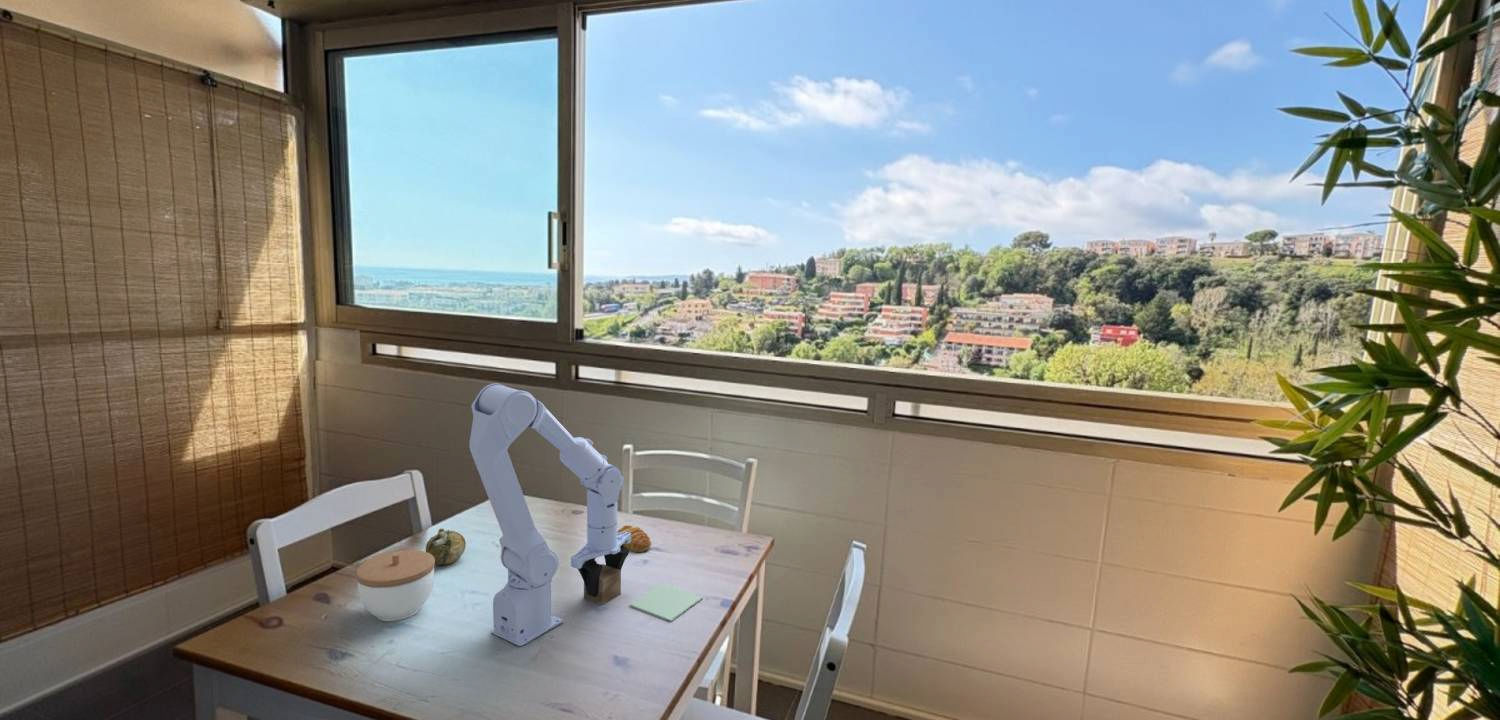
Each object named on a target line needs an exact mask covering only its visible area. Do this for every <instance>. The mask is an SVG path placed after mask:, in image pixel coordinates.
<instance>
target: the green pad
mask: <svg viewBox="0 0 1500 720" xmlns="http://www.w3.org/2000/svg"><path fill="white" fill-rule="evenodd" d="M701 599H702V600H703V599H704V598H703V596H701V595H698V594H695V593H692V592H689V591H687V590H684V589H682V588H681V589H680V588H678V587H674V586H671V585H669V584H666V583H661V584H659V585H658V586H656V587H654V588H653V589H651V590H649V591H648V592H646V593H645V594H643V595H641V596H640V597H638V598H637V599H635V600H634V601H632V602H631V603H629V607H631V608H634V609H636V610H639V611H642V612H644V613H647V614H649V615H651V616H654V617H658V618H659V619H663V620H665V621H667V620H669V621H668V622H670V621H672V622H673V621H674V620H675V618H676V617H677V618H678V617H680V616H681V615H682V614H681V613H683V612H684V611H685V612H687V611H688V610H690V607H691V606H692V607H693V605H694V604H695V603H696V604H698V603H699V602H701V601H702V600H701ZM698 601H699V602H698ZM697 602H698V603H697ZM696 604H695V605H696ZM695 605H694V606H695ZM692 607H691V608H692ZM687 609H688V610H687ZM686 610H687V611H686ZM685 612H684V613H685ZM684 613H683V614H684ZM680 614H681V615H680ZM679 615H680V616H679ZM677 618H676V619H677Z"/></svg>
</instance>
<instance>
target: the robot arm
mask: <svg viewBox="0 0 1500 720" xmlns="http://www.w3.org/2000/svg"><path fill="white" fill-rule="evenodd" d="M470 406H471V411H472V416H473V418H472V424H471V431H470V437H469V445H468V446H469V447H468V448H469V451H470V453H471V456H472V458H473V461H474V464H475V467H476V469H477V472H478V474H479V476H480V480H481V482H482V485H483V487H484V489H485V492H486V494H487V497H488V500H489V502H490V504H491V507H492V510H493V512H494V515H495V518H496V520H497V523H498V525H499V527H500V531H501V534H502V535H501V537H500V538H499V544H500V546H501V547H500V548H501V550H500V562H501V564H502V565H503V567H504V568H505V569H507V583H506V584H505V586H504V587H503V588H501V590H500V591H498V592H496V593H495V594H494V595H493V596H494V597H493V599H492V601H493V602H492V610H493V611H492V612H493V613H492V614H493V615H492V617H493V628H492V629H491V630H490V633H491V634H493V635H495V636H498V637H500V638H502V639H503V640H506V641H507V642H510V643H512V644H514V645H516V646H518V647H522V646H525V644H528V643H529V642H531V641H533V640H534V639H537V637H540V636H541V635H543V634H544V633H546V632H548V631H549V630H551V629H553V628H555V627H556V626H558V625H560V624H562V623H563V619H562V618H561V617H558V616H556V615H553V614H552V579H553V578H554V577H555V575H556V573H557V572H558V571H557V570H558V568H559V558H558V555H557V553H556V552H555V551H553V550H552V549H550V548H549V545H548V544H547V541H546V540H545V538H544V536H543V535H542V534H541V533H540V532H539V530H538V529H537V528H536V526H535V523H534V521H533V518H532V515H531V512H530V509H529V507H528V503H527V501H526V499H525V495H524V493H523V490H522V487H521V485H520V483H519V480H518V476H517V474H516V472H515V468H514V466H513V462H512V460H511V457H510V454H509V452H508V449H509V448H510V446H511V444H512V443H513V442H514V441H515V440H516V439H517V438H518V437H519V436H520V435H521V434H522V433H523V432H524V431H525V430H526V429H527V428H530V429H534V430H535V431H536V432H537V433H538V434H540V435H541V436H542V437H543V438H544V439H545V440H547V441H548V442H549V443H550V444H551V445H553V446H554V447H555V448H556V449H557V450H559V460H560V462H561V463H563V464H564V466H565V467H567V468H568V469H569V470H570V471H571V473H573V474H574V475H575V476H576V477H578V478H579V482H580V484H581V486H583V487H585V488H586V530H587V531H586V532H587V533H586V534H587V535H586V538H587V539H586V540H587V542H586V544H585V545H584V546H583V547H582V548H581V549H580V550H579V551H578V552H577V553H575V554H574V555H572V556H570V567H572V568H574V569H577V571H578V572H579V573H580V577H581V578H582V580H583V585H584V584H585V587H586V591H587V594H588V595H591V596H593V597H596V596H597V594H598V588H599V577H600V573H601V570H602V567H603V565H601V563H600V564H599V563H598V562H597V560H596V559H598V557H599V558H600V557H603V556H604V562H605V565H607V566H610V567H613V568H616V569H619V570H621V571H622V569H623V565H624V563H625V561H626V559H627V557H628V555H629V554H630V550H629V549H628V548H626V547H624V544H625V543H626V544H628V543H630V542H631V533H628V532H625V531H623V532H621V533H618V534H617V531H618V500H619V499H620V492H621V489H622V488H623V485H624V483H625V482H624V481H625V477H623V476H622V471H621V470H620V468H618V466H615V465H613V464H611V463H608V461H607V460H608V457H607V456H606V455H605V454H602V453H600V452H598V451H597V449H596V448H594V447H593V446H594V442H593V441H592V439H589V438H584V437H580V436H578V437H574V436H572V434H571V433H570V432H569V431H568V430H567V429H566V428H565V427H564V426H563V425H562V424H561V422H559V421H558V419H557V418H556V416H554V415H553V414H552V413H551V411H549V409H548V408H546V406H545V405H544V404H543V402H541V401H539V400H538V399H536V398H535V397H534V396H533V395H532V394H531V393H530V392H529V391H526V390H519V389H515V388H512V387H509V386H506V385H505V384H504V385H503V384H502V383H495V382H494V383H490V384H488V385H485V386H484V387H483V388H482V389H481V390H480V391H479V393H478V394H477V396H476V397H475V399H474V401H473V402H472V404H471V405H470Z"/></svg>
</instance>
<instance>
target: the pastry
mask: <svg viewBox="0 0 1500 720" xmlns="http://www.w3.org/2000/svg"><path fill="white" fill-rule="evenodd" d="M623 531H625V532H628V533H631V542H630V543H628V544H626V543H625V544H624V547H626V548H628V549H629V552H633V553H635V552H637V553H641V552H644V551H647V550H649V549H650V548H651V546H652V541H651V539H650V537H649V536H648V534H647V533H646V532H645V531H644V530H643V529H641V528H639V526H637V527H636V526H633V525H627V524H626V525H623V526H622V527H620V529H617V534H618V533H621V532H623Z"/></svg>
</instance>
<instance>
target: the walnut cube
mask: <svg viewBox="0 0 1500 720" xmlns="http://www.w3.org/2000/svg"><path fill="white" fill-rule="evenodd" d="M600 565H603V567H602V570H601V573H600V577H599V588H598V594H597V596H596V597H593V596H591V595H588V594H587V591H586V587H585V584H584V583H583V598H584V599H587V600H589V601H592V602H595V603H597V604H600V605H605V604H608V603H609V602H611V601H612V600H613V599H615V598H618V596H620V595H621V594H622V569H621V570H619V569H616V568H613V567H610V566H607V565H606V564H604V563H600Z"/></svg>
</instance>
